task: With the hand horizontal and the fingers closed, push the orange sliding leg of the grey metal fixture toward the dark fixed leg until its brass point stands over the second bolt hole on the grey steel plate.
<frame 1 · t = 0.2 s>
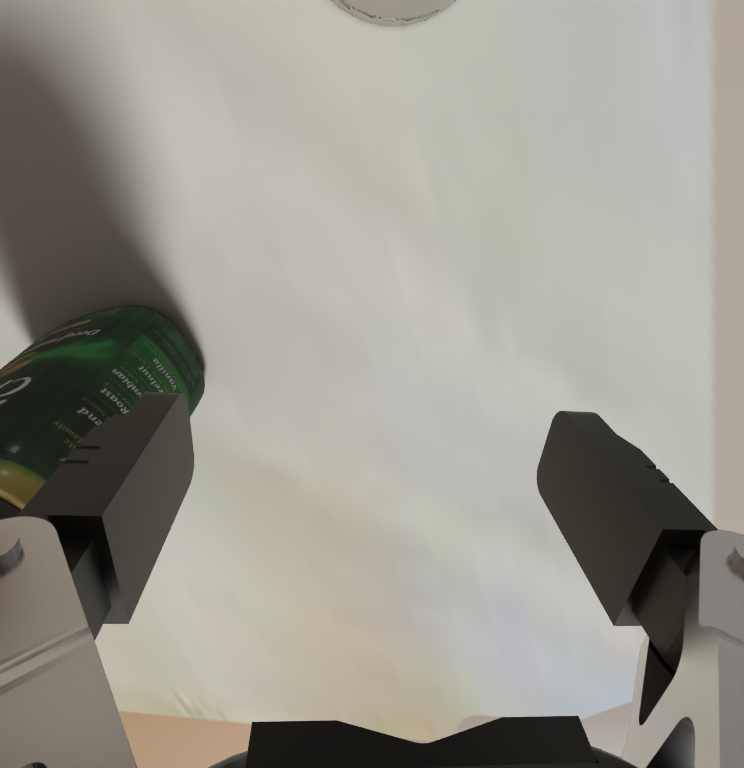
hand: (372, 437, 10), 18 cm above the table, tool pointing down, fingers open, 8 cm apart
coffee jar: (126, 363, 29), on the table
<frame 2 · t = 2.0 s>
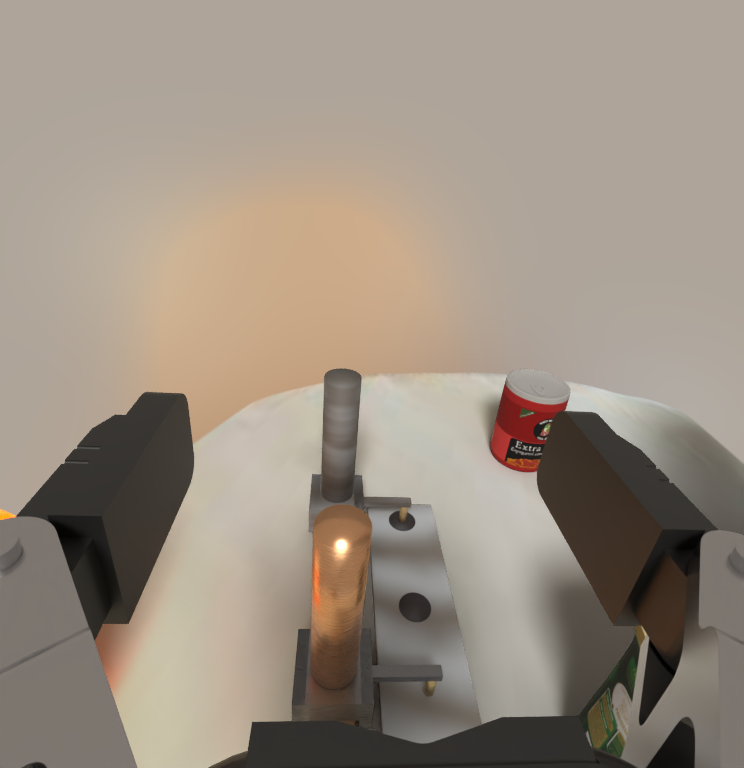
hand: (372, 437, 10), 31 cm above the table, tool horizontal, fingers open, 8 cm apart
grey metal fixture: (333, 613, 40), on the table
canned food: (517, 455, 62), on the table
sliding leg: (376, 620, 29), point 9 cm above the table, slide at 7.0 cm
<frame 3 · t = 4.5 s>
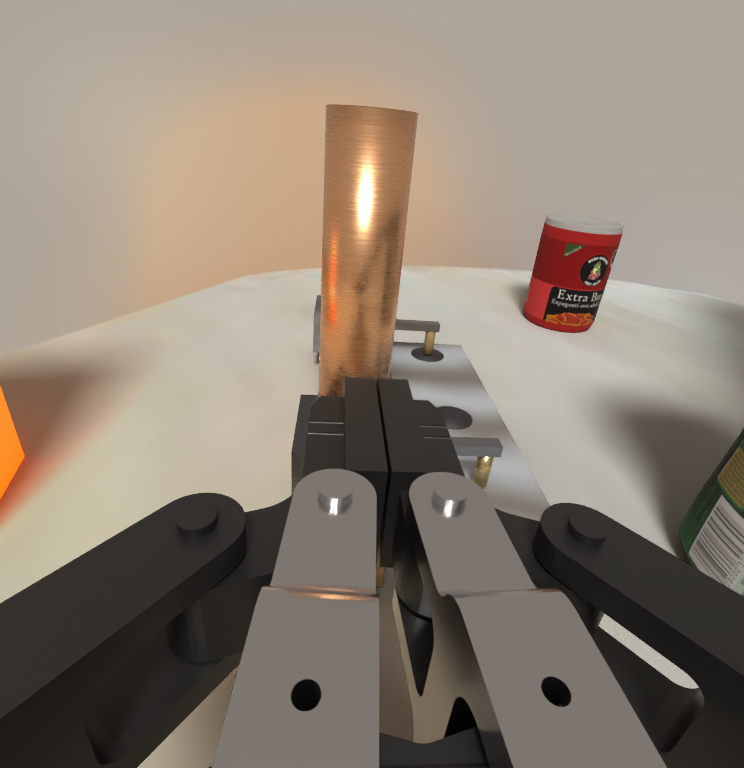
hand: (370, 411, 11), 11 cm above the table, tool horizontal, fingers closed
grey metal fixture: (345, 424, 31), on the table
canned food: (555, 322, 53), on the table
sliding leg: (414, 333, 20), point 9 cm above the table, slide at 7.0 cm
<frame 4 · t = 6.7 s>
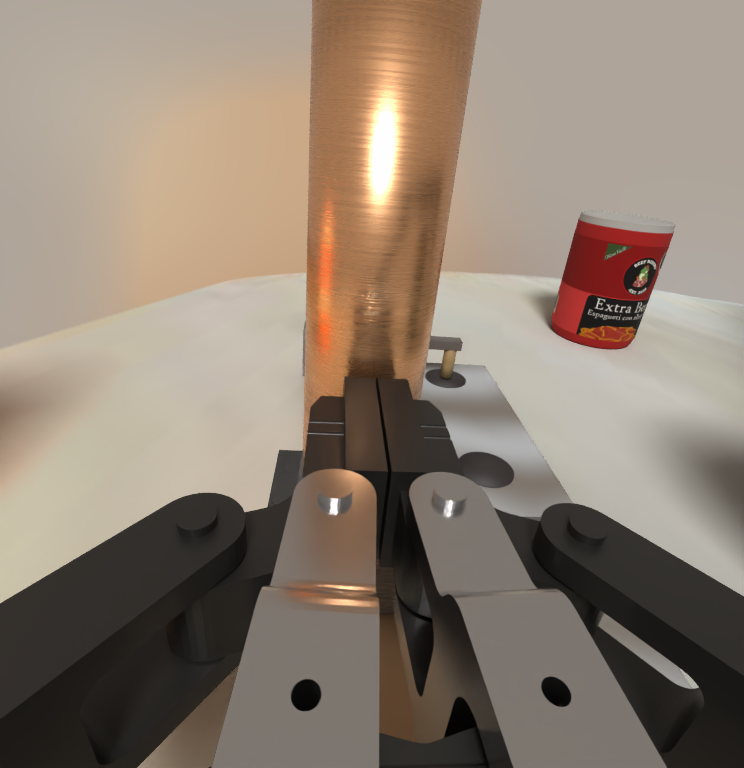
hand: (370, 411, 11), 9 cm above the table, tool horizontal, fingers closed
grey metal fixture: (343, 477, 23), on the table
canned food: (588, 336, 46), on the table
sliding leg: (456, 367, 13), point 9 cm above the table, slide at 6.9 cm, touching gripper
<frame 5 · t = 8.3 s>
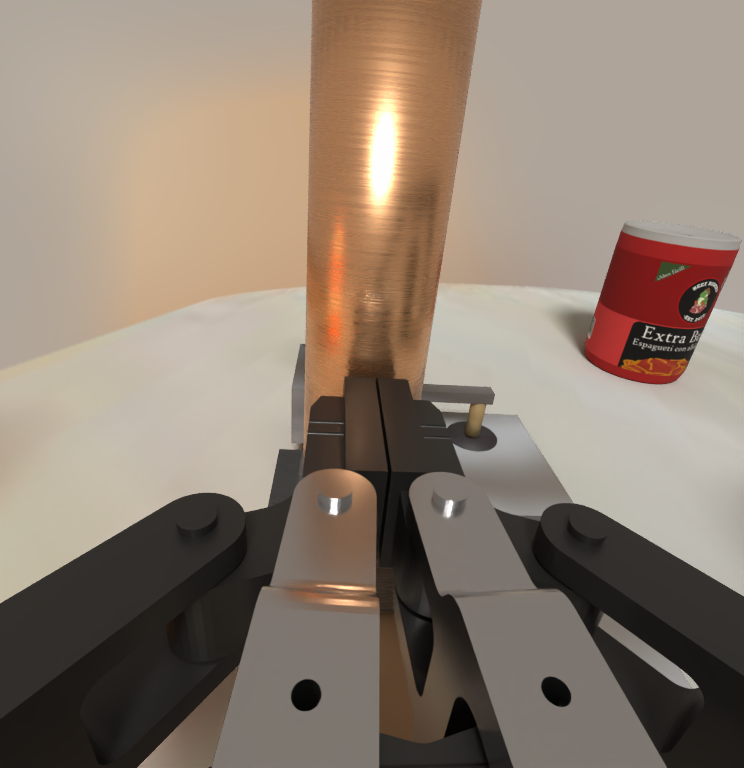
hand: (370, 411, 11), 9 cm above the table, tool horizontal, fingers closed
grey metal fixture: (345, 607, 16), on the table
canned food: (628, 366, 39), on the table
sliding leg: (456, 367, 13), point 9 cm above the table, slide at -0.3 cm, touching gripper
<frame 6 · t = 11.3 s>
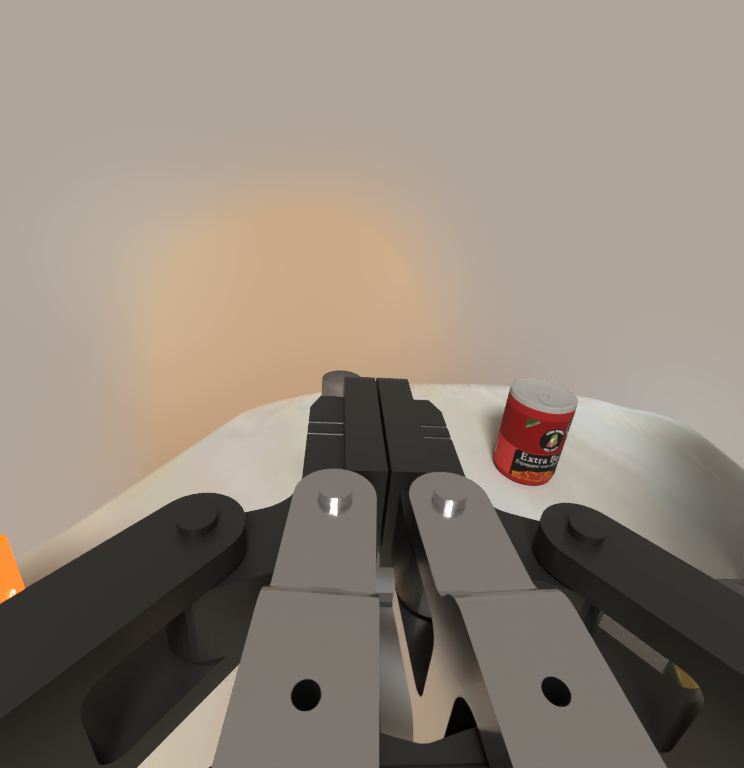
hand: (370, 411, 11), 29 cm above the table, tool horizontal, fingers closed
grey metal fixture: (328, 636, 36), on the table
canned food: (521, 468, 59), on the table
sliding leg: (370, 542, 33), point 9 cm above the table, slide at -0.6 cm
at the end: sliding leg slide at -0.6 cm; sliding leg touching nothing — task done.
